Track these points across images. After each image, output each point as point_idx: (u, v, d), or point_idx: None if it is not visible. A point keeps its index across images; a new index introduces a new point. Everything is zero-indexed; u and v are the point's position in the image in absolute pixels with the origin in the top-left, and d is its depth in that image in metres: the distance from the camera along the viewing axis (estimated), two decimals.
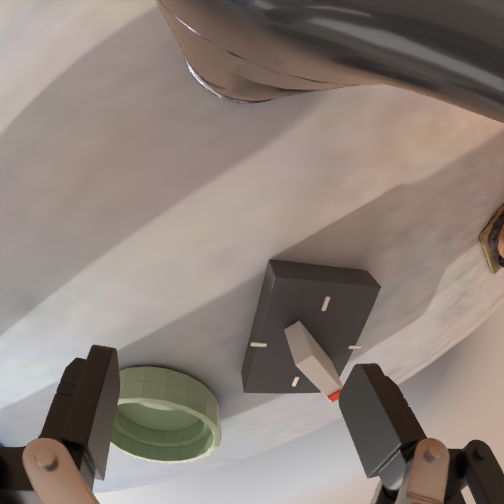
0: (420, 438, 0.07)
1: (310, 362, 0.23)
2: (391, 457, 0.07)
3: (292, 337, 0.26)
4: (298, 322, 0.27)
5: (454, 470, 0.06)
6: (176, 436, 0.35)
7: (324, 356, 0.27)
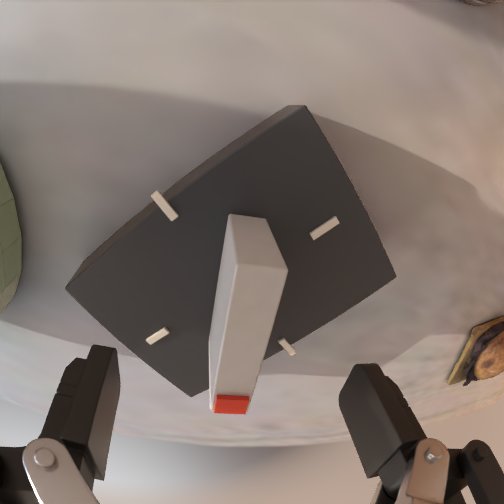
0: (420, 438, 0.07)
1: (267, 286, 0.10)
2: (392, 458, 0.07)
3: (244, 228, 0.12)
4: (263, 219, 0.13)
5: (454, 470, 0.06)
6: None
7: None
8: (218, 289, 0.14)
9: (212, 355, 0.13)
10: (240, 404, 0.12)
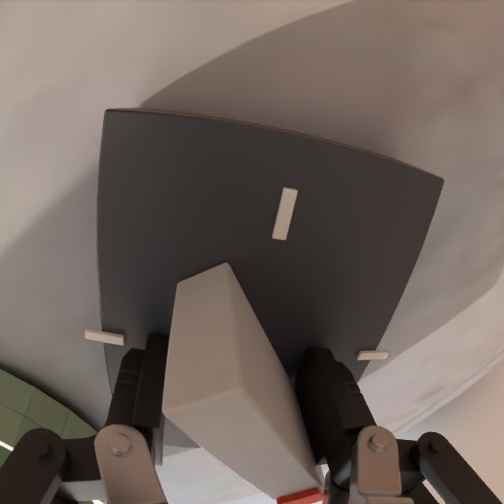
0: (369, 426, 0.08)
1: (229, 416, 0.05)
2: (337, 444, 0.08)
3: (189, 307, 0.07)
4: (223, 266, 0.09)
5: (409, 469, 0.06)
6: None
7: (286, 388, 0.09)
8: None
9: None
10: (310, 498, 0.07)
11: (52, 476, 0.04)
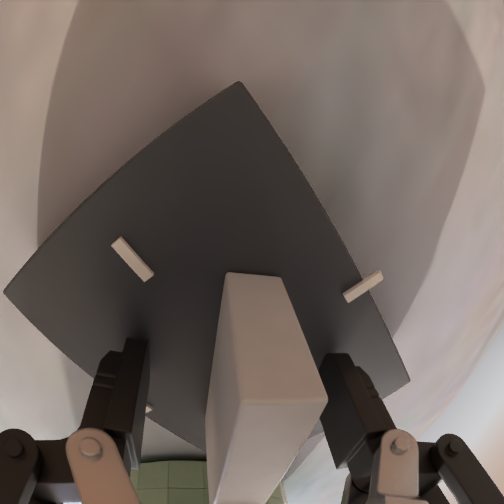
0: (389, 429, 0.08)
1: (293, 421, 0.05)
2: (359, 448, 0.07)
3: (250, 303, 0.07)
4: (278, 280, 0.09)
5: (427, 468, 0.06)
6: None
7: None
8: (214, 374, 0.09)
9: (210, 454, 0.09)
10: None
11: (26, 476, 0.04)
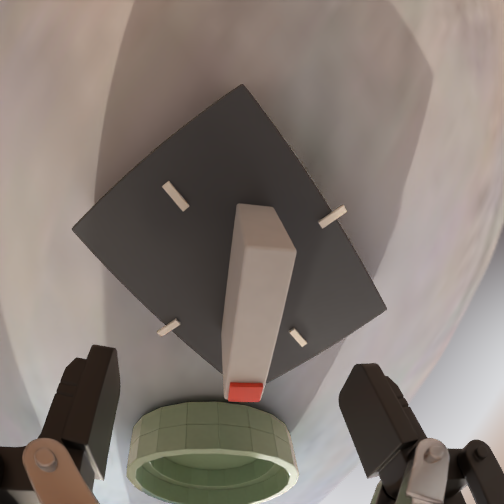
0: (420, 438, 0.07)
1: (276, 267, 0.10)
2: (392, 457, 0.07)
3: (252, 215, 0.12)
4: (271, 208, 0.13)
5: (454, 470, 0.06)
6: (264, 463, 0.26)
7: None
8: (229, 278, 0.14)
9: (225, 344, 0.13)
10: (254, 391, 0.12)
11: None
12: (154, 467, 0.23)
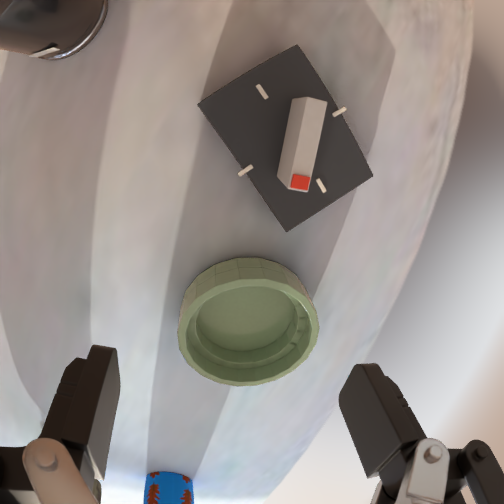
0: (420, 438, 0.07)
1: (319, 108, 0.21)
2: (391, 457, 0.07)
3: None
4: None
5: (454, 470, 0.06)
6: (287, 336, 0.37)
7: None
8: (287, 134, 0.25)
9: (286, 164, 0.24)
10: (305, 180, 0.23)
11: None
12: (197, 334, 0.34)
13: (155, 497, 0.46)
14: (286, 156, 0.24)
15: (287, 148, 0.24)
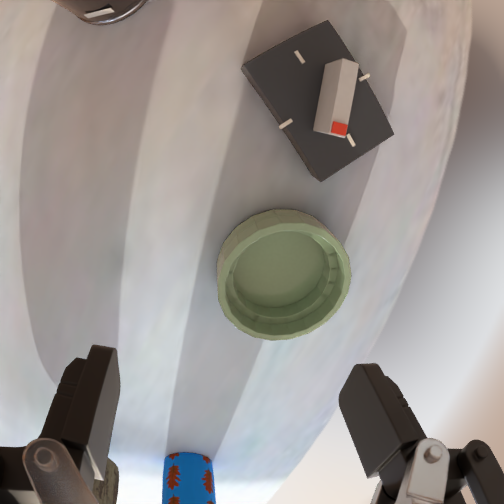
0: (420, 438, 0.07)
1: (352, 67, 0.22)
2: (392, 457, 0.07)
3: None
4: None
5: (454, 470, 0.06)
6: (318, 290, 0.38)
7: None
8: (323, 92, 0.26)
9: (324, 116, 0.26)
10: (343, 127, 0.24)
11: None
12: (233, 286, 0.35)
13: (175, 479, 0.48)
14: (323, 110, 0.26)
15: (324, 103, 0.26)
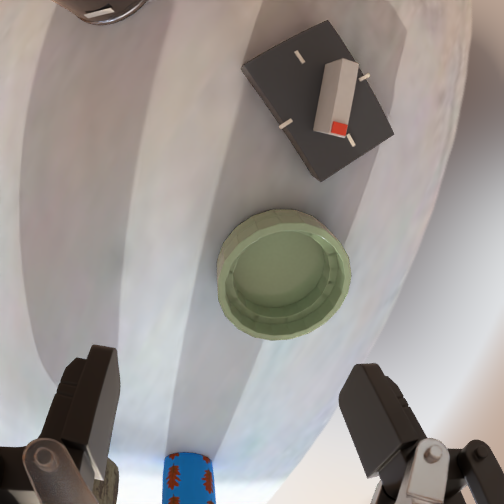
0: (420, 438, 0.07)
1: (352, 67, 0.22)
2: (392, 457, 0.07)
3: None
4: None
5: (454, 470, 0.06)
6: (318, 290, 0.38)
7: None
8: (323, 92, 0.26)
9: (324, 116, 0.26)
10: (343, 127, 0.24)
11: None
12: (233, 286, 0.35)
13: (175, 479, 0.48)
14: (323, 110, 0.26)
15: (324, 103, 0.26)
